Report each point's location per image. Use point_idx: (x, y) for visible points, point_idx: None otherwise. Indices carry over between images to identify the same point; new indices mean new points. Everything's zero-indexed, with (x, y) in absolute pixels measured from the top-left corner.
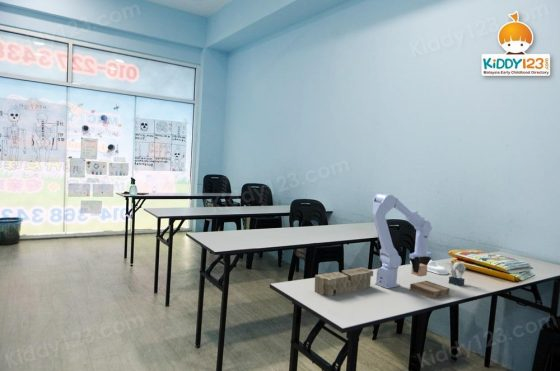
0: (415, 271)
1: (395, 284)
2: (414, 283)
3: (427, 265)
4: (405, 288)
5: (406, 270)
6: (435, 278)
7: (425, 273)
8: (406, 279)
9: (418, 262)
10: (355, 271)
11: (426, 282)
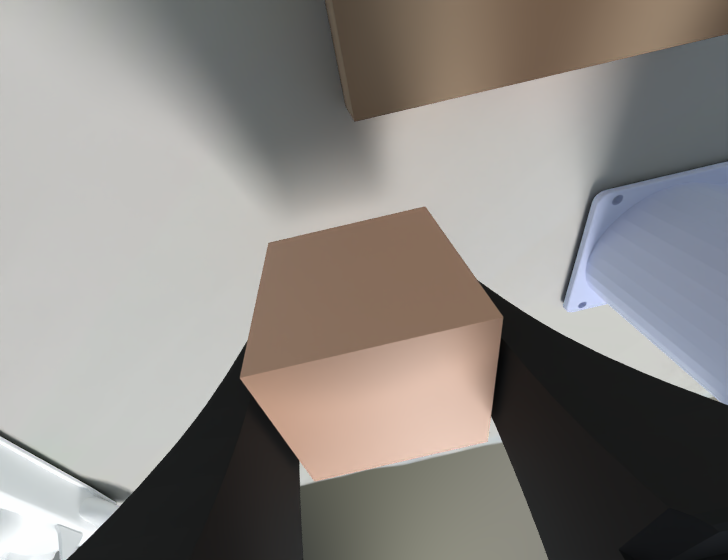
0: None
1: (675, 191)
2: (669, 34)
3: (15, 510)
4: (625, 114)
5: None
6: (38, 327)
7: (296, 254)
8: None
9: (706, 403)
10: None
11: (436, 22)
